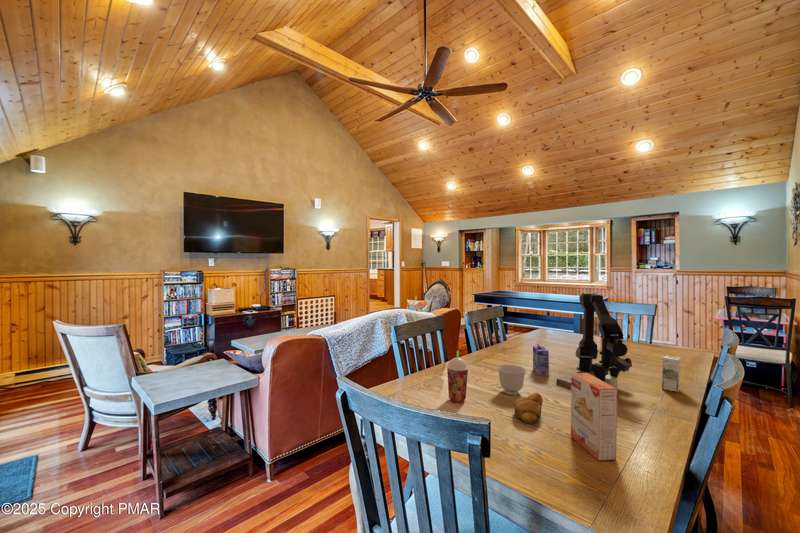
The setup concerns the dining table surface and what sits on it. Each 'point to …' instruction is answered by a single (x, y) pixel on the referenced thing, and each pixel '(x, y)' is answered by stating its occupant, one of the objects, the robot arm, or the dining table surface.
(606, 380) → the sage cube
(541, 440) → the dining table surface
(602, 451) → the cracker box
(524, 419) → the bread roll
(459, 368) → the smoothie
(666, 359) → the syrup box
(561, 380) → the walnut board
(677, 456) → the dining table surface
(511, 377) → the teacup
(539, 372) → the ink cartridge box
